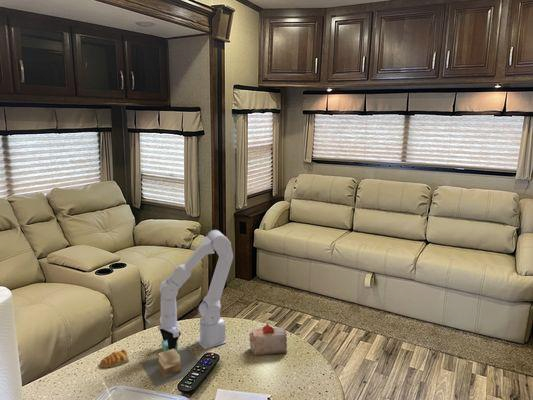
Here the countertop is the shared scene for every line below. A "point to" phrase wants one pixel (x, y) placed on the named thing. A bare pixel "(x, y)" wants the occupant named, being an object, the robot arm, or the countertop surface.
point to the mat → (186, 365)
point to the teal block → (165, 345)
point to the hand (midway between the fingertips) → (169, 346)
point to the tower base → (169, 370)
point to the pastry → (115, 359)
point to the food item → (268, 340)
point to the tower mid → (169, 358)
